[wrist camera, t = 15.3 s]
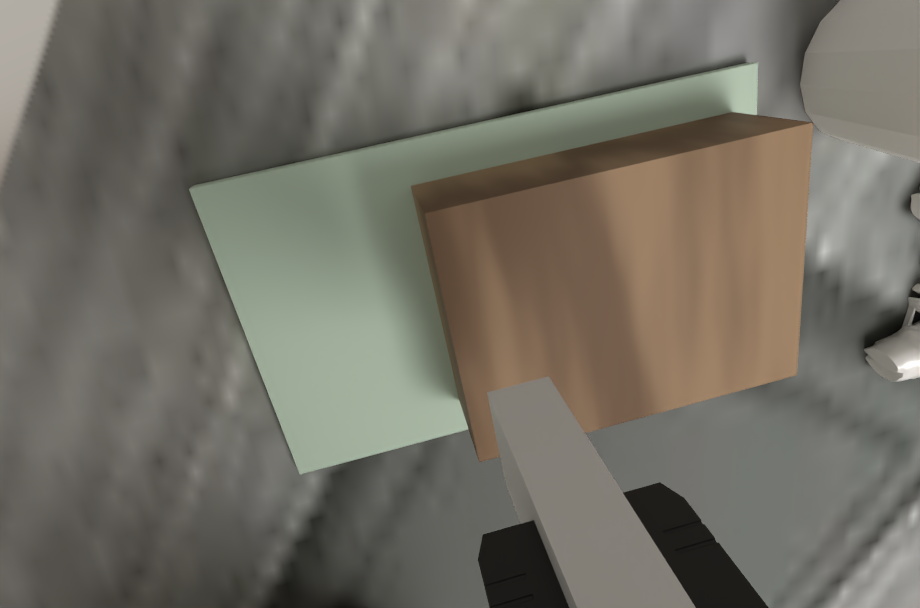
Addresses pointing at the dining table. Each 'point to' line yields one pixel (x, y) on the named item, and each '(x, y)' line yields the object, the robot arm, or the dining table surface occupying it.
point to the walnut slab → (624, 269)
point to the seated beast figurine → (900, 338)
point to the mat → (390, 262)
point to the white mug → (867, 75)
